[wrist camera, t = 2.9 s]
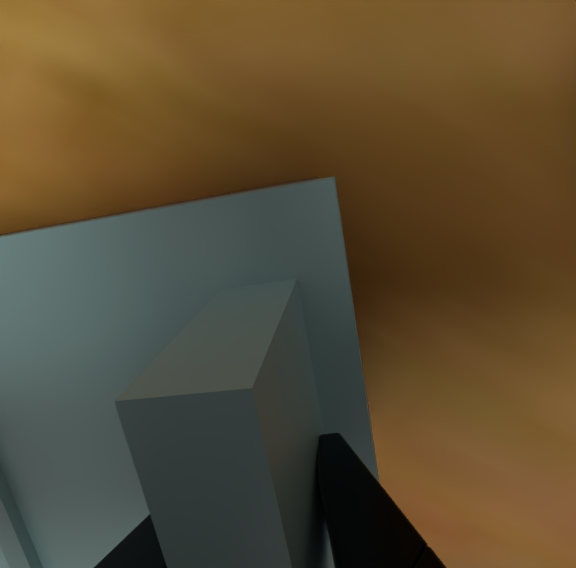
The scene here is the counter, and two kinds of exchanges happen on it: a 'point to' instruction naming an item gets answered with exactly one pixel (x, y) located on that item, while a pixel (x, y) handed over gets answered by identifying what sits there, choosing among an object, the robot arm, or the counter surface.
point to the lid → (178, 381)
